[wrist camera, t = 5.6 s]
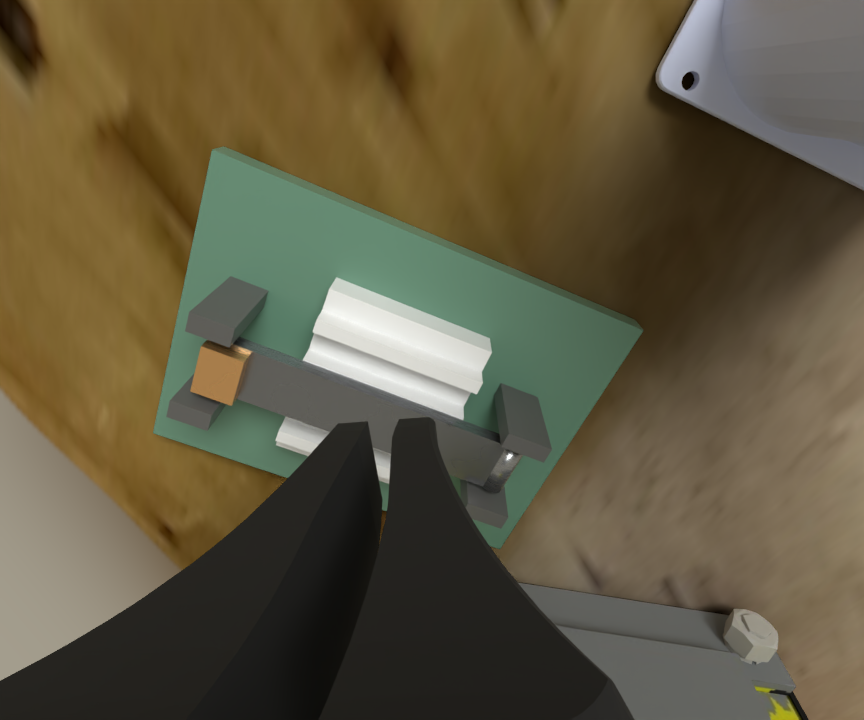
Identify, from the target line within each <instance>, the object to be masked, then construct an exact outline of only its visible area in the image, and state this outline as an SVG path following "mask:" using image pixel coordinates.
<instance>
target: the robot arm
mask: <svg viewBox="0 0 864 720" xmlns="http://www.w3.org/2000/svg"><path fill="white" fill-rule="evenodd" d="M688 72H691V73H692V74H693V75H694V83H693V85H692V86H691V87H690V89H688V90H685V89H684V88H683V87H682V83H681V82H682V79H683V76H684V75H685V74H686V73H688ZM656 83H657V85H658V87H659V88H660V89H661V90H663V91H664V92H666V93H668V94H670V95H672V96H674V97H676V98H678V99H680V100H682V101H684V102H686V103H688V104H690V105H692V106H694V107H696V108H698V109H700V110H702V111H704V112H706V113H708V114H710V115H712V116H715V117H717V118H719V119H721V120H723V121H725V122H727V123H729V124H731V125H733V126H735V127H737V128H739V129H741V130H743V131H745V132H747V133H749V134H751V135H753V136H755V137H757V138H759V139H761V140H763V141H765V142H767V143H769V144H771V145H773V146H775V147H777V148H779V149H781V150H783V151H785V152H787V153H789V154H791V155H793V156H795V157H797V158H799V159H801V160H803V161H805V162H807V163H809V164H811V165H813V166H815V167H817V168H819V169H821V170H823V171H825V172H827V173H829V174H831V175H833V176H835V177H837V178H839V179H841V180H843V181H845V182H847V183H849V184H851V185H853V186H855V187H857V188H859V189H861V190H863V191H864V0H694V1H693V3H692V5H691V7H690V8H689V10H688V12H687V14H686V16H685V18H684V20H683V22H682V23H681V25H680V27H679V29H678V31H677V33H676V35H675V36H674V38H673V40H672V42H671V44H670V46H669V48H668V49H667V51H666V53H665V55H664V57H663V59H662V61H661V63H660V64H659V66H658V69H657V72H656ZM382 502H383V500H382V494H381V489H380V484H379V478H378V473H377V467H376V462H375V457H374V451H373V446H372V441H371V435H370V430H369V424H368V421H365V422H351V423H338V424H337V425H336V426H335V427H334V428H333V430H332V431H331V432H330V433H329V434H328V435H327V436H326V437H325V438H324V439H323V441H322V442H321V443H320V444H319V445H318V446H317V447H316V448H315V449H314V450H313V452H312V453H311V454H310V455H309V456H308V457H307V458H306V459H305V460H304V462H303V463H302V464H301V465H300V466H299V467H298V468H297V469H296V470H295V471H294V472H293V473H292V474H291V475H290V477H289V478H288V479H287V480H286V481H285V482H284V483H283V484H282V485H281V486H280V487H279V488H278V489H277V490H276V491H275V492H274V493H273V494H272V495H271V496H270V497H269V498H267V499H266V500H265V501H264V502H263V503H262V504H261V505H260V506H259V507H258V508H257V509H256V510H255V511H254V512H253V513H252V514H251V515H250V516H249V517H248V518H247V519H246V520H244V521H243V522H242V523H241V524H240V525H239V526H238V527H237V528H235V529H234V530H233V531H232V532H231V533H229V534H228V535H227V536H226V537H225V538H224V539H222V540H221V541H220V542H219V543H217V544H216V545H215V546H214V547H212V548H211V549H210V550H209V551H207V552H206V553H205V554H204V555H202V556H201V557H200V558H199V559H197V560H196V561H195V562H193V563H192V564H191V565H189V566H188V567H186V568H185V569H184V570H182V571H181V572H179V573H178V574H176V575H175V576H174V577H172V578H171V579H169V580H168V581H167V582H165V583H164V584H162V585H161V586H160V587H158V588H157V589H155V590H154V591H152V592H151V593H149V594H148V595H147V596H145V597H144V598H142V599H141V600H139V601H138V602H136V603H135V604H133V605H132V606H130V607H129V608H127V609H126V610H124V611H122V612H121V613H119V614H117V615H116V616H114V617H113V618H111V619H110V620H108V621H106V622H105V623H103V624H102V625H100V626H98V627H96V628H95V629H93V630H91V631H90V632H88V633H86V634H85V635H83V636H81V637H80V638H78V639H76V640H75V641H73V642H71V643H69V644H68V645H66V646H64V647H62V648H61V649H59V650H57V651H55V652H54V653H52V654H50V655H48V656H46V657H44V658H43V659H41V660H39V661H37V662H35V663H33V664H31V665H29V666H27V667H26V668H24V669H22V670H20V671H18V672H16V673H14V674H12V675H11V676H9V677H7V678H5V679H3V680H1V681H0V720H634V718H633V716H632V714H631V712H630V710H629V709H628V707H627V705H626V703H625V702H624V700H623V698H622V696H621V694H620V693H619V691H618V689H617V687H616V686H615V684H614V682H613V681H612V680H611V678H609V677H608V676H607V675H606V674H605V673H604V672H603V671H602V670H601V669H600V668H599V667H598V666H596V665H595V664H594V663H593V662H592V661H591V660H590V659H589V658H588V657H587V656H586V655H585V654H584V653H583V652H581V651H580V650H579V649H578V648H577V647H576V646H575V645H574V644H573V643H572V642H571V641H570V640H569V639H568V638H567V637H566V636H565V635H564V634H563V633H562V632H561V631H560V630H559V629H558V628H557V627H556V625H555V624H554V623H553V622H552V621H551V620H550V619H549V618H548V617H547V616H546V615H545V614H544V613H543V612H542V611H541V610H540V609H539V607H538V606H537V605H536V604H535V603H534V602H533V600H532V599H531V598H530V597H529V596H528V594H527V593H526V592H525V591H524V590H523V588H522V587H521V586H520V585H519V584H518V582H517V581H516V580H515V579H514V578H513V577H512V575H511V574H510V573H509V572H508V571H507V569H506V568H505V567H504V565H503V564H502V563H501V561H500V560H499V558H498V557H497V556H496V554H495V553H494V552H493V550H492V549H491V548H490V546H489V545H488V543H487V542H486V540H485V539H484V537H483V536H482V534H481V533H480V531H479V530H478V528H477V526H476V525H475V523H474V522H473V520H472V518H471V516H470V515H469V513H468V511H467V510H466V508H465V506H464V504H463V502H462V500H461V499H460V497H459V495H458V493H457V491H456V489H455V487H454V485H453V483H452V480H451V478H450V476H449V473H448V471H447V469H446V466H445V464H444V462H443V459H442V456H441V453H440V450H439V447H438V440H437V431H436V423H435V421H434V420H433V419H431V418H430V417H421V418H407V419H399V420H398V422H397V425H396V427H395V430H394V433H393V436H392V446H391V461H390V478H389V495H388V507H387V514H386V521H385V525H384V529H383V533H382V537H381V541H380V545H379V540H380V529H381V516H382ZM378 548H379V549H378ZM377 553H378V554H377Z"/></svg>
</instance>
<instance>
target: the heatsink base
mask: <svg viewBox="0 0 864 720" xmlns="http://www.w3.org/2000/svg"><path fill="white" fill-rule="evenodd" d="M643 331H644V330H643V329H642V328H641V326H640V325H639V324H638V323H637V321H636V320H634V319H632V318H630V317H627V316H625V315H623V314H620V313H618V312H616V311H613V310H611V309H608V308H606V307H604V306H601V305H599V304H597V303H594V302H592V301H589V300H587V299H585V298H582V297H580V296H578V295H575V294H573V293H570V292H568V291H566V290H563V289H561V288H559V287H556V286H554V285H551V284H549V283H547V282H544V281H542V280H540V279H537V278H535V277H532V276H530V275H528V274H525V273H523V272H521V271H518V270H516V269H513V268H511V267H509V266H506V265H504V264H502V263H499V262H497V261H495V260H492V259H490V258H487V257H485V256H483V255H480V254H478V253H476V252H473V251H471V250H468V249H466V248H464V247H461V246H459V245H457V244H454V243H452V242H449V241H447V240H445V239H442V238H440V237H438V236H435V235H433V234H430V233H428V232H426V231H423V230H421V229H419V228H416V227H414V226H411V225H409V224H407V223H404V222H402V221H400V220H397V219H395V218H393V217H390V216H388V215H385V214H383V213H381V212H378V211H376V210H374V209H371V208H369V207H366V206H364V205H362V204H359V203H357V202H355V201H352V200H350V199H347V198H345V197H343V196H340V195H338V194H336V193H333V192H331V191H328V190H326V189H324V188H321V187H319V186H317V185H314V184H312V183H309V182H307V181H305V180H302V179H300V178H298V177H295V176H293V175H290V174H288V173H286V172H283V171H281V170H279V169H276V168H274V167H272V166H269V165H267V164H264V163H262V162H260V161H257V160H255V159H253V158H250V157H248V156H245V155H243V154H241V153H238V152H236V151H234V150H231V149H229V148H226V147H220V148H216V149H212V153H211V158H210V162H209V167H208V172H207V177H206V182H205V186H204V191H203V196H202V201H201V206H200V210H199V215H198V220H197V225H196V230H195V234H194V239H193V244H192V249H191V254H190V258H189V263H188V268H187V273H186V278H185V282H184V287H183V292H182V297H181V301H180V306H179V311H178V316H177V321H176V325H175V330H174V335H173V340H172V345H171V349H170V354H169V359H168V364H167V369H166V373H165V378H164V383H163V388H162V393H161V397H160V402H159V407H158V412H157V417H156V421H155V426H154V431H153V433H154V434H157V435H160V436H163V437H166V438H169V439H172V440H175V441H178V442H181V443H184V444H187V445H190V446H193V447H196V448H199V449H202V450H205V451H208V452H211V453H214V454H217V455H220V456H223V457H226V458H229V459H232V460H235V461H238V462H241V463H244V464H247V465H250V466H253V467H256V468H259V469H262V470H265V471H268V472H271V473H274V474H277V475H280V476H283V477H286V478H289V477H290V475H291V474H292V473H293V472H294V471H295V470H296V469H297V468H298V467H299V466H300V465H301V464H302V463H303V462H304V460H305V459H306V458H307V457H308V456H309V455H310V454H311V453H312V452H313V450H314V449H315V448H316V447H317V446H318V445H319V444H320V443H321V442H322V441H323V439H324V438H325V437H326V436H327V435H328V434H329V433H330V432H328V431H325V430H323V429H320V428H317V427H314V426H311V425H309V424H306V423H303V422H300V421H297V420H295V419H292V418H289V417H286V416H283V415H281V414H278V413H275V412H272V411H269V410H267V409H264V408H261V407H258V406H255V405H253V404H250V403H247V402H244V401H241V400H239V399H236V401H235V402H234V403H233V405H232V406H230V405H227V404H224V403H222V402H219V401H216V400H213V399H210V398H207V397H205V396H202V395H199V394H196V393H193V392H191V391H190V390H191V386H192V382H193V377H194V373H195V369H196V365H197V361H198V356H199V352H200V348H201V346H202V345H203V344H204V342H205V341H206V340H210V341H213V342H215V343H218V344H221V345H224V346H226V347H229V348H230V347H231V346H232V344H233V343H234V342H235V341H236V340H237V339H238V337H242V338H244V339H247V340H250V341H252V342H255V343H258V344H260V345H263V346H266V347H268V348H271V349H274V350H276V351H279V352H282V353H284V354H287V355H290V356H292V357H295V358H298V359H300V360H303V361H306V362H308V363H311V364H314V365H316V366H319V367H322V368H325V369H327V370H330V371H333V372H335V373H338V374H341V375H343V376H346V377H349V378H351V379H354V380H357V381H359V382H362V383H365V384H367V385H370V386H373V387H375V388H378V389H381V390H383V391H386V392H389V393H391V394H394V395H397V396H399V397H402V398H405V399H407V400H410V401H413V402H415V403H418V404H421V405H423V406H426V407H429V408H431V409H434V410H437V411H439V412H442V413H445V414H448V415H450V416H453V417H456V418H458V419H461V420H464V421H466V422H469V423H472V424H474V425H477V426H480V427H482V428H485V429H488V430H490V431H493V432H496V433H498V434H499V435H500V442H501V447H502V448H505V449H508V450H510V451H513V452H516V453H519V454H521V455H523V456H522V458H521V459H520V461H519V463H518V464H517V466H516V467H515V469H514V471H513V472H512V474H511V476H510V477H509V479H508V480H507V482H506V484H505V485H504V487H503V489H502V490H501V492H499V493H492V492H489V491H487V490H486V489H485V488H484V487H482V486H479V485H477V484H474V483H471V482H468V481H465V480H463V479H460V478H457V477H454V476H451V475H449V476H450V478H451V480H452V483H453V485H454V487H455V489H456V491H457V493H458V495H459V497H460V499H461V500H462V502H463V504H464V506H465V508H466V510H467V511H468V513H469V515H470V516H471V518H472V520H473V522H474V523H475V525H476V526H477V528H478V530H479V531H480V533H481V534H482V536H483V537H484V539H485V540H486V542H487V543H488V545H489V546H492V547H495V548H498V549H500V548H501V547H502V545H503V544H504V542H505V541H506V539H507V538H508V536H509V535H510V533H511V532H512V530H513V528H514V527H515V525H516V524H517V522H518V521H519V519H520V518H521V516H522V515H523V513H524V512H525V510H526V509H527V507H528V506H529V504H530V503H531V501H532V500H533V498H534V497H535V495H536V493H537V492H538V490H539V489H540V487H541V486H542V484H543V483H544V481H545V480H546V478H547V477H548V475H549V474H550V472H551V471H552V469H553V468H554V466H555V465H556V463H557V462H558V460H559V458H560V457H561V455H562V454H563V452H564V451H565V449H566V448H567V446H568V445H569V443H570V442H571V440H572V439H573V437H574V436H575V434H576V433H577V431H578V430H579V428H580V427H581V425H582V424H583V422H584V420H585V419H586V417H587V416H588V414H589V413H590V411H591V410H592V408H593V407H594V405H595V404H596V402H597V401H598V399H599V398H600V396H601V395H602V393H603V392H604V390H605V389H606V387H607V385H608V384H609V382H610V381H611V379H612V378H613V376H614V375H615V373H616V372H617V370H618V369H619V367H620V366H621V364H622V363H623V361H624V360H625V358H626V357H627V355H628V354H629V352H630V350H631V349H632V347H633V346H634V344H635V343H636V341H637V340H638V338H639V337H640V335H641V334H642V332H643ZM373 451H374V457H375V462H376V467H377V473H378V478H379V484H380V489H381V494H382V500H383V502H382V510H384V511H387V507H388V495H389V478H390V461H391V454H390V453H387V452H384V451H381V450H379V449H376V448H373Z"/></svg>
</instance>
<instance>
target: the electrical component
mask: <svg viewBox="0 0 864 720" xmlns="http://www.w3.org/2000/svg"><path fill="white" fill-rule="evenodd" d="M518 584H519V585H520V586H521V587H522V588H523V590H524V591H525V592H526V593H527V594H528V596H529V597H530V598H531V599H532V600H533V602H534V603H535V604H536V605H537V606H538V607H539V609H540V610H541V611H542V612H543V613H544V614H545V615H546V616H547V617H548V618H549V619H550V620H551V621H552V622H553V623H554V624H555V625H556V627H557V628H558V629H559V630H560V631H561V632H562V633H563V634H564V635H565V636H566V637H567V638H568V639H569V640H570V641H571V642H572V643H573V644H574V645H575V646H576V647H577V648H578V649H579V650H580V651H581V652H583V653H584V654H585V655H586V656H587V657H588V658H589V659H590V660H591V661H592V662H593V663H594V664H595V665H596V666H598V667H599V668H600V669H601V670H602V671H603V672H604V673H605V674H606V675H607V676H608V677H609V678H611V680H612V681H613V682H614V684H615V686H616V687H617V689H618V691H619V693H620V694H621V696H622V698H623V700H624V702H625V703H626V705H627V707H628V709H629V710H630V712H631V714H632V716H633V718H634V720H808V718H807V716H806V714H805V712H804V711H803V709H802V707H801V705H800V704H799V702H798V700H797V698H796V696H795V695H794V693H793V690H794V689H795V688H796V685H795V684H794V682H793V680H792V678H791V677H790V675H789V673H788V671H787V670H786V668H785V666H784V664H783V663H782V661H781V659H780V658H779V656H778V654H777V652H776V651H777V648H778V632H777V631H776V630H775V629H774V627H773V626H772V625H771V624H770V623H769V622H768V621H767V620H766V619H764V618H763V617H762V616H760V615H759V614H758V613H756V612H753V611H750V610H746V609H733V611H732V612H731V614H730V615H723V614H717V613H710V612H704V611H698V610H691V609H685V608H678V607H672V606H665V605H659V604H653V603H646V602H640V601H633V600H627V599H620V598H614V597H608V596H601V595H595V594H588V593H582V592H575V591H569V590H563V589H556V588H550V587H543V586H537V585H531V584H524V583H518Z"/></svg>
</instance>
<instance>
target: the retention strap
mask: <svg viewBox="0 0 864 720" xmlns="http://www.w3.org/2000/svg"><path fill="white" fill-rule="evenodd" d="M190 391H191V392H193V393H196V394H199V395H202V396H205V397H207V398H210V399H213V400H216V401H219V402H222V403H224V404H227V405H230V406H232V405H233V403H234V402H235V401H236V399H239V400H241V401H244V402H247V403H250V404H253V405H255V406H258V407H261V408H264V409H267V410H269V411H272V412H275V413H278V414H281V415H283V416H286V417H289V418H292V419H295V420H297V421H300V422H303V423H306V424H309V425H311V426H314V427H317V428H320V429H323V430H325V431H328V432H331V431H332V430H333V428H334V427H335V426H336V425H337V424H338V423H351V422H365V421H368V424H369V430H370V435H371V441H372V446H373V448H376V449H379V450H381V451H384V452H387V453H390V454H391V446H392V436H393V433H394V430H395V427H396V425H397V422H398V420H399V419H407V418H421V417H430V418H431V419H433V420H434V421H435V423H436V431H437V440H438V447H439V450H440V453H441V456H442V459H443V462H444V464H445V466H446V469H447V471H448V473H449V475H451V476H454V477H457V478H460V479H463V480H465V481H468V482H471V483H474V484H477V485H479V486H482V487H484V488H485V489H486V490H487V491H489V492H492V493H499V492H501V490H502V489H503V487H504V485H505V484H506V482H507V480H508V479H509V477H510V476H511V474H512V472H513V471H514V469H515V467H516V466H517V464H518V463H519V461H520V459H521V458H522V456H523V455H521V454H519V453H516V452H513V451H510V450H508V449H505V448H502V447H501V442H500V435H499V434H498V433H496V432H493V431H490V430H488V429H485V428H482V427H480V426H477V425H474V424H472V423H469V422H466V421H464V420H461V419H458V418H456V417H453V416H450V415H448V414H445V413H442V412H439V411H437V410H434V409H431V408H429V407H426V406H423V405H421V404H418V403H415V402H413V401H410V400H407V399H405V398H402V397H399V396H397V395H394V394H391V393H389V392H386V391H383V390H381V389H378V388H375V387H373V386H370V385H367V384H365V383H362V382H359V381H357V380H354V379H351V378H349V377H346V376H343V375H341V374H338V373H335V372H333V371H330V370H327V369H325V368H322V367H319V366H316V365H314V364H311V363H308V362H306V361H303V360H300V359H298V358H295V357H292V356H290V355H287V354H284V353H282V352H279V351H276V350H274V349H271V348H268V347H266V346H263V345H260V344H258V343H255V342H252V341H250V340H247V339H244V338H242V337H238V339H237V340H236V341H235V342H234V343H233V344H232V346H231V347H230V348H229V347H226V346H224V345H221V344H218V343H215V342H213V341H210V340H206V341H205V342H204V344H203V345H202V346H201V348H200V352H199V356H198V361H197V365H196V369H195V373H194V377H193V382H192V386H191V390H190Z"/></svg>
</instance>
